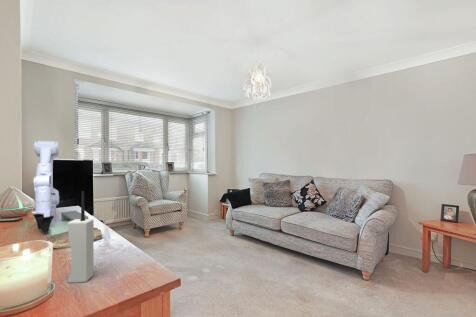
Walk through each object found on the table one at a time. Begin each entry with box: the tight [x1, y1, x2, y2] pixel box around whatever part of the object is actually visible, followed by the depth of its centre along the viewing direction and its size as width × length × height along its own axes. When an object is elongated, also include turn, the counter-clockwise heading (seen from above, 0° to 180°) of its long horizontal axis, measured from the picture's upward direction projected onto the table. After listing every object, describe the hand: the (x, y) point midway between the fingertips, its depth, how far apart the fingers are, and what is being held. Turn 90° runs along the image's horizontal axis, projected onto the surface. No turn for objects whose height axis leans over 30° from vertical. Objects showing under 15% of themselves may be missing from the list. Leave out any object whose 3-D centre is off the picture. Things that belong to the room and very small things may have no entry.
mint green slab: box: [46, 220, 72, 236], centre depth 112 cm, size 14×12×3 cm
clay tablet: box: [43, 227, 103, 250], centre depth 96 cm, size 14×5×20 cm
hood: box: [60, 210, 89, 222], centre depth 116 cm, size 21×6×6 cm, turn 49°
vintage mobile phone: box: [67, 191, 95, 284], centre depth 66 cm, size 4×5×25 cm
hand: (43, 230), depth 107 cm, fingers open, 7 cm apart
